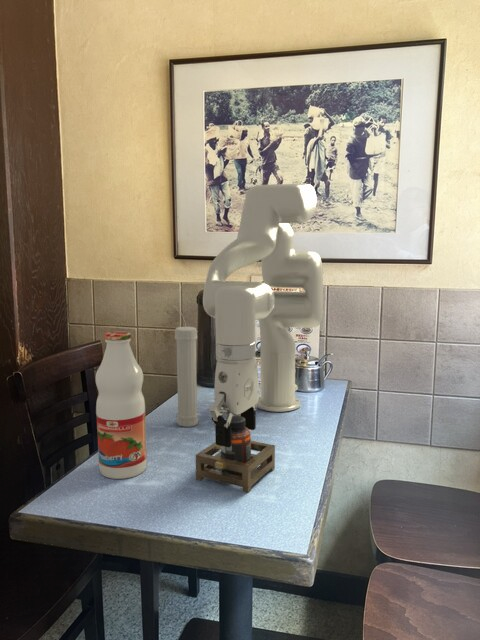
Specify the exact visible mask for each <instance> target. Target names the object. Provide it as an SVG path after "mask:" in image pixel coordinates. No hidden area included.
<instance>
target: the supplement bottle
mask: <svg viewBox="0 0 480 640" xmlns="http://www.w3.org/2000/svg"><path fill="white" fill-rule="evenodd" d="M245 425H246V423H245V418H244V417H242V416H241V415H232V418H231V421H230V424H229V426H231V439H232V445H231V447H224V446H221V450H220V452H221V458H224V459H229V460H233V461H238V462H242V463H246V462H248V461H249V460H250V459H251V454H252V450H251V441H252V438H251V437H252V436H251V435H252V434H251V430H249V429H248V428H247V427H246V426H245ZM220 472H224V473H229V474H233V475H237V476H241V477H242V473H240V472H236V471H232V470H228V469H220Z"/></svg>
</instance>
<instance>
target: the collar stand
mask: <svg viewBox="0 0 480 640" xmlns="http://www.w3.org/2000/svg"><path fill="white" fill-rule="evenodd" d="M251 451H256V452H257V454H255V453H251V459H250V460H249V461H248V462H246V463H242V462H238V461H233V460H229V459H224V458H221V446H219V445H216V443H215V442H213V443H212V444H210V445H208V446H207V447H205V448H204V449H202V450H201V451H200V452H198V453H196V454H195V480H196V481H203V480H204V479H207V480H212V481H214V482H215V481H216V482H220V483H222V484H223V483H224V484H228V485H230V486H231V485H232V486H235V487H239V488H242V491H241V492H243V493H248V494H249V493H250V492H251V491H252V486H253V485H255V483H256V482H257V481H259V480H260V479H261V478H262V477H263V476H265V475H266V474H267V473H268V472H273V471H275V469H276V464H275V463H276V446H275V445H274V444H271V443H270V444H269V443H266V442H265V443H264V442H260V441H255V440H251ZM214 468H215V469H220V470H215V469H214ZM221 469H228V470H232V471H236V472H240V473H242V477H241V476H237V475H233V474H229V473H224V472H221Z"/></svg>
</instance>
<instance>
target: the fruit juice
mask: <svg viewBox="0 0 480 640" xmlns="http://www.w3.org/2000/svg"><path fill="white" fill-rule="evenodd" d="M131 340H132V334H131V332H130V331H127V330H114V331H113V330H112V331H108V332H106V333H105V334H104V341H105V343H106V347H105V350H104V353H103V354H104V355H103V358H102V360H101V363H100V365H99V367H98V369H97V370H96V372H95V373H96V374H95V384H96V387H97V391H98V396H97V399H96V402H95V403H96V405H95V414H96V429H97V432H96V433H97V452H98V453H97V454H98V468H99V473H100V474H101V475H102V476H104V477H105V478H108V479H113V480H122V479H123V480H125V479H129V478H134V477H136V476H139V475H140V474H142V473H143V472H144V471H145V470H146V469H147V463H148V458H147V456H148V455H147V429H146V427H147V426H146V423H147V422H146V403H145V402H146V401H145V397H144V394H143V392H142V386H143V383H144V373H143V370H142V367H141V366H140V365H139V364H138V362H137V360H136V358H135V355H134V353H133V350H132V347H131V345H130V343H131Z"/></svg>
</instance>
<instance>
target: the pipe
mask: <svg viewBox="0 0 480 640" xmlns="http://www.w3.org/2000/svg"><path fill="white" fill-rule="evenodd" d="M171 306H172V307H174V309H176V310H177V311H178V312H179V313H180V315H181V316H182V319H183V321H184V325H185V326H179V327H176V328H175V330H174V340H175V341H176V370H177V371H176V376H177V377H176V379H177V381H176V382H177V412H176V419H177V420H176V421H177V422H176V423H177V424H178V426H180V427H184V428H186V427H188V428H189V427H194V426H196V425H198V423H199V415H200V413H199V412H198V403H197V402H198V393H197V392H198V390H197V389H198V386H197V343H196V342H197V339H198V335H197V333H198V332H197V331H198V329H197V328H196V327H194V326H187V323H186V320H185V317H184V315H183V314H182V312H181V310H180V309H178V307H177V306H175V305H173V304H171Z"/></svg>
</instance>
